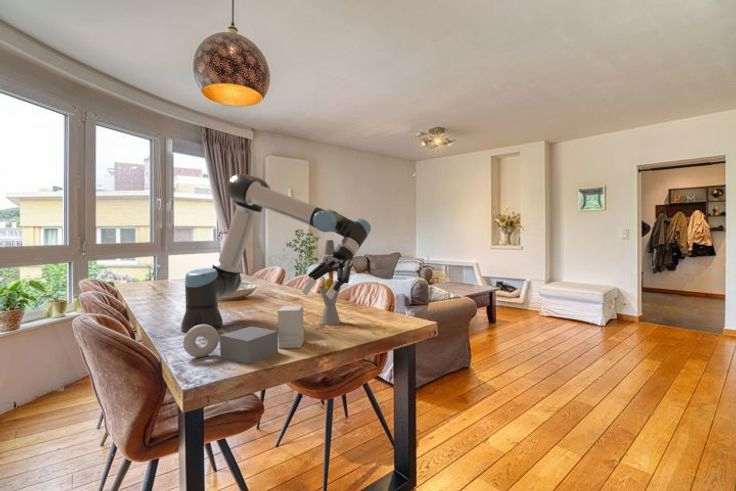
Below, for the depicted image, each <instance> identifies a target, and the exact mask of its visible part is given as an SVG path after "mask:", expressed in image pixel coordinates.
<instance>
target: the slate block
mask: <svg viewBox="0 0 736 491" xmlns="http://www.w3.org/2000/svg"><path fill="white" fill-rule="evenodd" d="M219 344H220V346H219V347H220V350H219V354H220V356H219V357H220V358H222V359H225V360H228V361H229V360H230V361H233V362H237V363H241V364H245V365H250V364H253V363H255V362H257V361H260V360H262V358H263V359H265V358H267V357H266V356H268V357H270V356H272V355H271V354H273V353H275V354H277V353H279V337H278V330H275V329H268V328H263V327H262V328H261V327H257V326H256V327H255V326H248V327H245V328H244V327H243V328H241V329H238V330H234V331H230V332H227V333H223V334H220V335H219ZM276 352H277V353H276ZM269 355H270V356H269ZM273 355H274V354H273ZM264 357H265V358H264Z"/></svg>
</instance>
